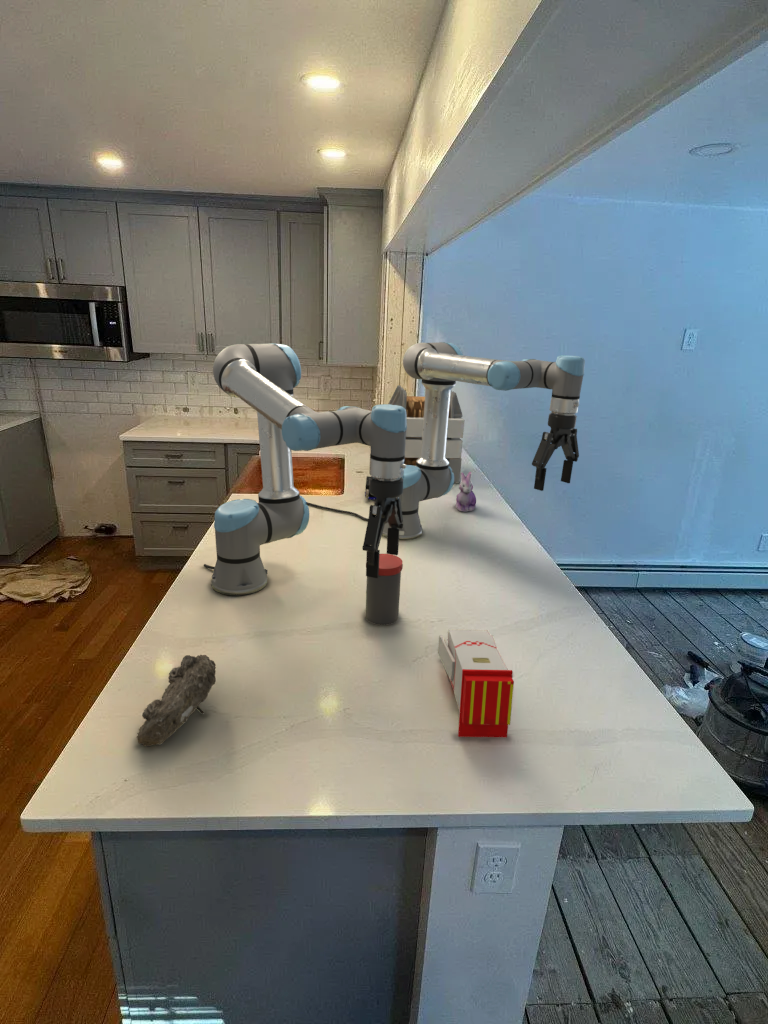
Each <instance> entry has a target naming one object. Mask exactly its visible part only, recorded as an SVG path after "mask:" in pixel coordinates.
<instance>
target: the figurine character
mask: <svg viewBox="0 0 768 1024" xmlns="http://www.w3.org/2000/svg"><path fill="white" fill-rule="evenodd" d="M370 477H371V476H370V475H369V476H368V475H367V476H366V479H365V489H364V490H365V491H364V498H365V499H367V502H370V501H371V500H374V503H375V502H376V497H375V496H373V495H371V494H370V492H369V478H370Z"/></svg>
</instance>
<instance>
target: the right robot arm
mask: <svg viewBox="0 0 768 1024" xmlns="http://www.w3.org/2000/svg"><path fill="white" fill-rule="evenodd" d="M585 365H586V360H585V358H584V357H582V356H578V355H566V354H565V355H564V354H563V355H558V356H557V357H556V360H555V361H549V360H541V359H536V358H524V359H521V360H506V359H505V360H504V359H503V360H502V359H496V358H487V357H479V356H471V355H464V354H463V352H462V350H461V349H460V347H459V346H457V345H456V344H455V343H451V342H445V341H443V342H442V341H441V342H440V341H439V342H438V341H437V342H417V343H414V344H412V345H411V346H409V347H408V348H407V350H406V351H405V353H404V355H403V358H402V366H403V369H404V372H405V373H406V374H407V375H408V376H409V377H411V378H412V379H415V380H421V385H422V386H423V387H424V389H425V392H424V397H425V404H424V419H423V434H422V449H421V457H420V458H418V459H417V461H416V466H413V465H406V468H405V469H404V475H403V476H402V478H403V493H402V495H401V496H400V501H401V509H402V516H403V522H402V523H400V524H403V529H400V528H398V529H399V541H410V540H415V539H418V538H420V537H421V536H422V535H423V525H422V524H421V518H420V515H419V507H420V506H419V505H420V502H423V501H427V500H431V499H437V498H440V497H443V496H446V495H448V493H450V492H451V490H452V489H453V488H454V487H453V486H454V484H455V483H454V473H452V469H451V467H450V466H449V462H448V461H447V459H446V458H445V453H446V441H447V428H448V416H449V404H450V392H451V391H452V389H453V388H454V387H455V386H456V384H457V382H461V383H465V384H473V385H479V386H487V387H491V388H492V389H494V390H496V391H503V392H504V391H511V390H520V389H532V388H533V389H534V388H539V389H546V390H551V398H550V404H549V413H548V418H547V419H548V420H547V426H548V427H549V428H550V431H549V432H548V431H543V432H542V435H541V440H540V442H539V445H538V447H537V449H536V452H535V454H534V457H533V460H532V461H531V466H533V467H535V475H534V477H535V478H534V485H533V489H534V490H537V491H539V492H543V491H544V489H545V484H546V483H545V482H546V476H547V468H546V466H547V465H548V463H549V461H550V459H551V457H552V456H553V454H554V453H555V451H556V450H557V449H558V448H560V447H561V449H562V452H563V455H564V458H565V459H563V463H562V468H561V469H562V470H561V475H560V482H562V483H566V484H571V478H572V472H573V466H574V463H576V462H578V461H579V457H580V453H579V444H578V428H576V423H577V419H578V416H577V414H578V412H579V411H578V410H579V406H580V397H581V391H582V385H583V380H584V376H585ZM306 502H307V503H306V505H308V506H311V507H314V508H317V509H322V510H326V511H331V512H336V513H341V514H346V515H347V514H348V515H351V516H355V517H357V518H359V519H361V520H363V521H365V522H368V518H367V517H364V516H362V515H360V514H359V513H356V512H353V511H349V510H343V509H337V508H332V507H328V506H323V505H319V504H316V503H311V502H308V501H306ZM398 518H399V517H398ZM388 528H391V527H390V526H389V523H388V522H387V523H386V524H385V525H384V529H383V533H382V537H385V538H387V534H388Z"/></svg>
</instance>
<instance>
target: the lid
mask: <svg viewBox="0 0 768 1024" xmlns="http://www.w3.org/2000/svg"><path fill="white" fill-rule="evenodd" d="M403 567H404V564H403V560H402V558H401V557H400V556H398V555H392V554H387V553H380V554H379V575H381V576H390V575H395V574H398V573H400V572H401V573H402V571H403Z"/></svg>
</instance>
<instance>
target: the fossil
mask: <svg viewBox="0 0 768 1024" xmlns="http://www.w3.org/2000/svg"><path fill="white" fill-rule="evenodd" d="M216 666H217V664H216V663H215V661H214V660H213V659H211V658H210V657H209V656H208V655H206V654H197V656H193V655H189V654H187V655H184V656H183V657H182V660H181V661H180V666H177V667H176V666H175V667H173V668H172V669H171V670H170V671H169V673H168V683H169V684H168V685H167V687H166V688H165V689H164V690H165V691H163V693H162V695H161V699H154V700H152V702H151V703H149V704H148V705H147V706H146V708H144V709H143V712H142V716H141V717H142V718H143V719H145V721H144V722H143V724H142V725H141V726H140V727H139V728H138V732H137V734H136V735H137V736H136V739H137V742H138V744H140V745H141V744H142V745H143V746H144V747H150V746H151V747H152V746H156V745H159V746H160V745H162V744H163V743H164V742H165V741H167V740H168V739H169V738H170V737H171V736H172V735H174V734H175V732H176V731H177V730H178V729H179V728H181V727H182V726H183V725H184V724H185V723H187V720H188V719H190V715H192V714H194V712H195V711H196V710H197V711H198V712H199V713H200V714H201V715H203V714H205V712H204V710H203V709H202V708H200V706H199V705H200V703H203V702H204V701H205V700H206V699H207V698H208V695H209V693H210V691H211V689H212V687H213V686H214V685H215V684H216V682H217V680H216V672H217V671H216V669H217V667H216Z"/></svg>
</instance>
